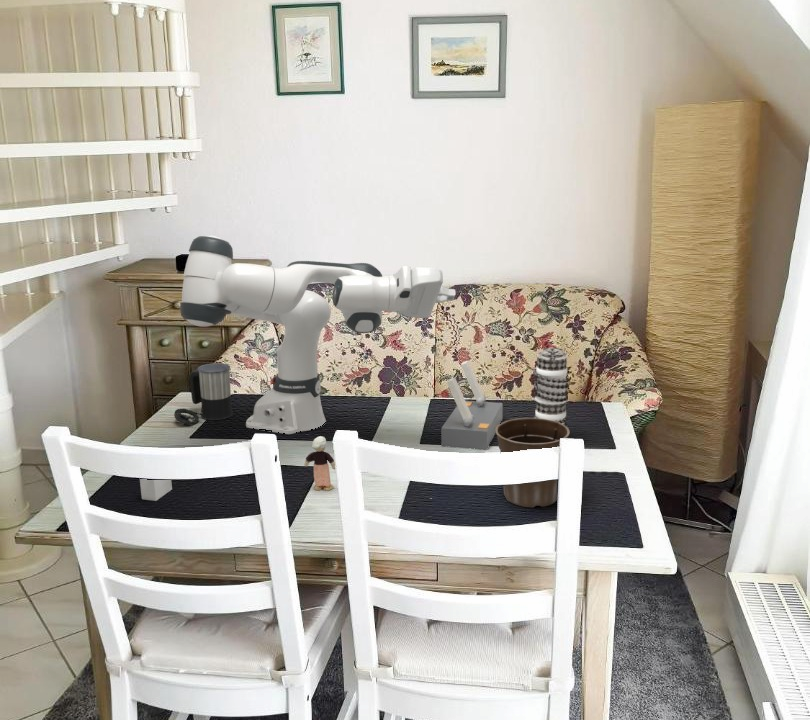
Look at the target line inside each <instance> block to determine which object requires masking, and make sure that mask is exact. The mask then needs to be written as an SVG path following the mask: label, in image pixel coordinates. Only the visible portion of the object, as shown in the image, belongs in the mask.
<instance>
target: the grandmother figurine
mask: <svg viewBox="0 0 810 720" xmlns="http://www.w3.org/2000/svg"><path fill="white" fill-rule="evenodd" d="M311 443H312V445H311V447H312V448H313V449H314V450H315V451H312V452H310V453H309V454H308V455H307V456H306V457H305V460H304V463H303V466H305V467H308V466H309V464H310V462H311V463H312V462H313V481H314V490H315V491H321V490H322V489H323V491H330V490H333V489H335V487H334V485H333V484H332V482H331V474H330V466H331V467H332V469H331V470H336V469H335V465H336V463H335V459H334V458H333V457H332V455H331V454H330V453H329V452H327V451H325V450H326V446H327V440H326V438H325V436H321V435H320V436H317V437H316V438H314V439H313V441H312V442H311ZM329 464H330V466H329Z"/></svg>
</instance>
